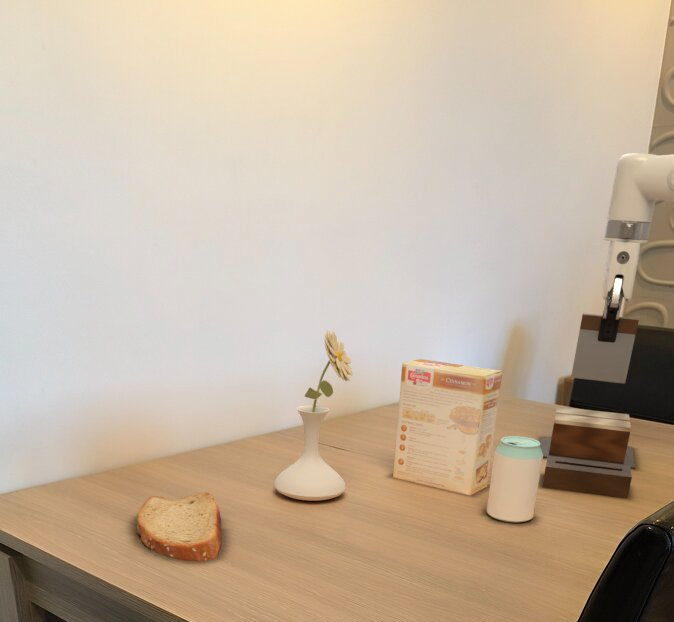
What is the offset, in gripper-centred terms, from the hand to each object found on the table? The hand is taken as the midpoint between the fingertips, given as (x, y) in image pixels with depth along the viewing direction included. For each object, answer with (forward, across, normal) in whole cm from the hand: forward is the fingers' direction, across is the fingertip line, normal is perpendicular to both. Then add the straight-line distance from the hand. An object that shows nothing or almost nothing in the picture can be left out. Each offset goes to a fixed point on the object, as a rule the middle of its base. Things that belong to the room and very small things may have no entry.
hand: (606, 339), depth 154 cm
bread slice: (+22, -69, +53) cm, 90 cm away
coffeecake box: (+22, -31, +24) cm, 45 cm away
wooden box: (+22, 0, 0) cm, 22 cm away
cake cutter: (+7, 0, 0) cm, 7 cm away
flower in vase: (+22, -46, +42) cm, 66 cm away
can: (+22, -44, +11) cm, 51 cm away
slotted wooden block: (+22, -24, 0) cm, 32 cm away
